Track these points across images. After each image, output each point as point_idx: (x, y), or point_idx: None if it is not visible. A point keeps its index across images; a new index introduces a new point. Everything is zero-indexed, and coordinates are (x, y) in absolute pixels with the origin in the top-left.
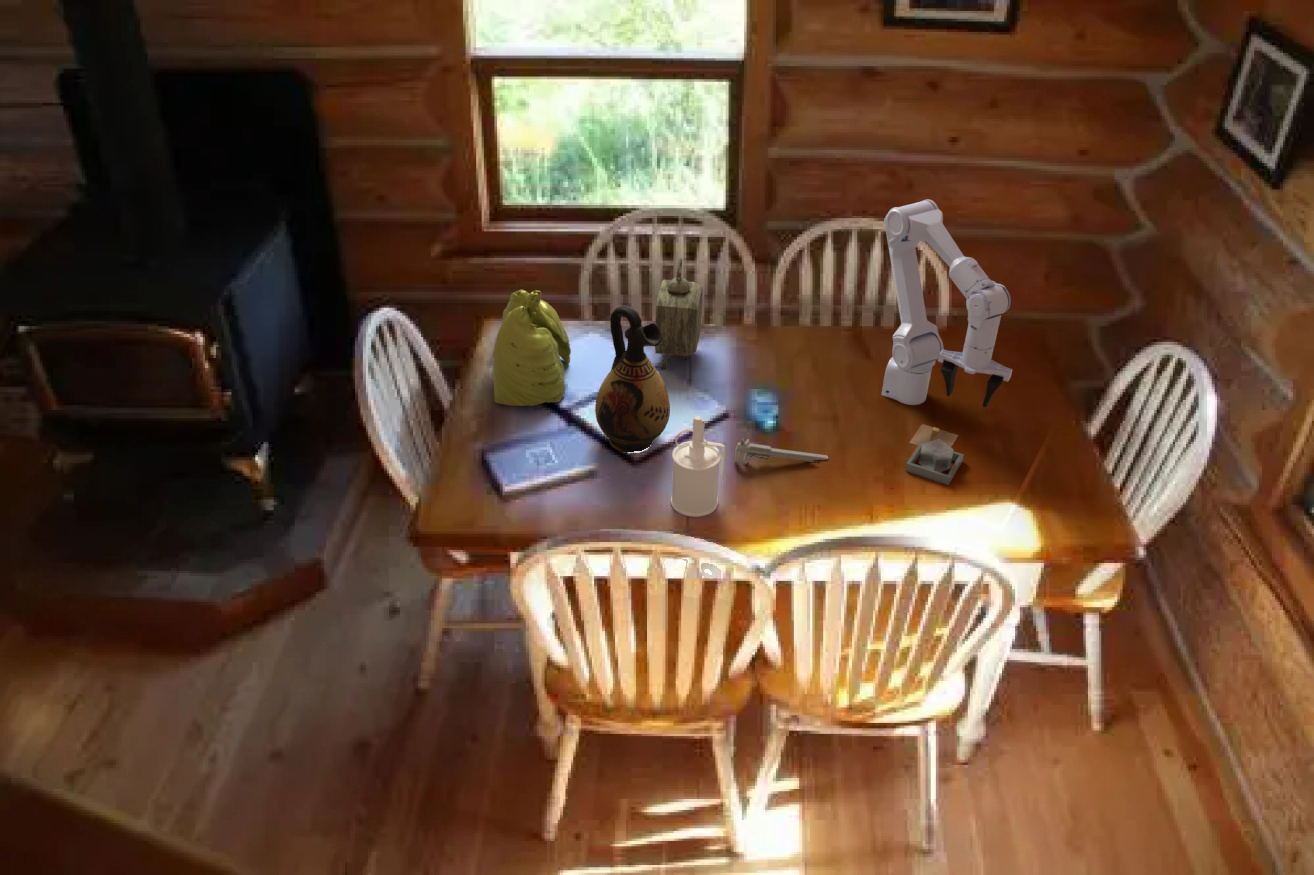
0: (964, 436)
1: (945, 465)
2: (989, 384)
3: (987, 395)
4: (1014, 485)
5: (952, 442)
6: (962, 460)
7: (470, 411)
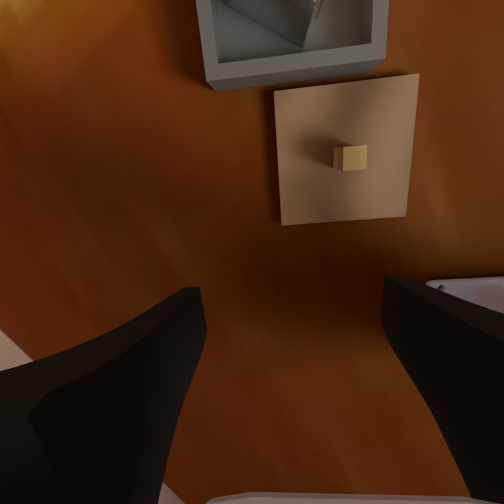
0: (269, 243)
1: None
2: (31, 388)
3: (145, 321)
4: (41, 93)
5: (283, 177)
6: (212, 86)
7: None
